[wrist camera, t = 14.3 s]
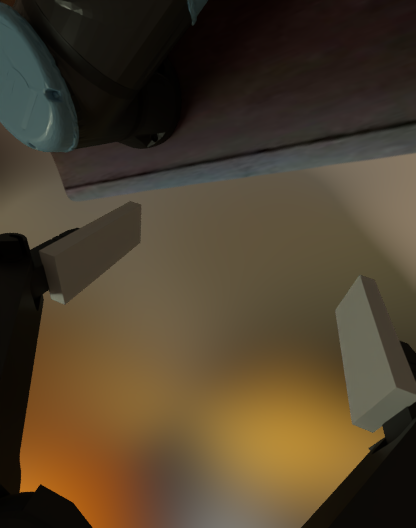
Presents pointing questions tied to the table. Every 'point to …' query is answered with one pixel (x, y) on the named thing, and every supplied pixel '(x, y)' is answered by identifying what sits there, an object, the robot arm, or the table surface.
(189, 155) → the table surface
